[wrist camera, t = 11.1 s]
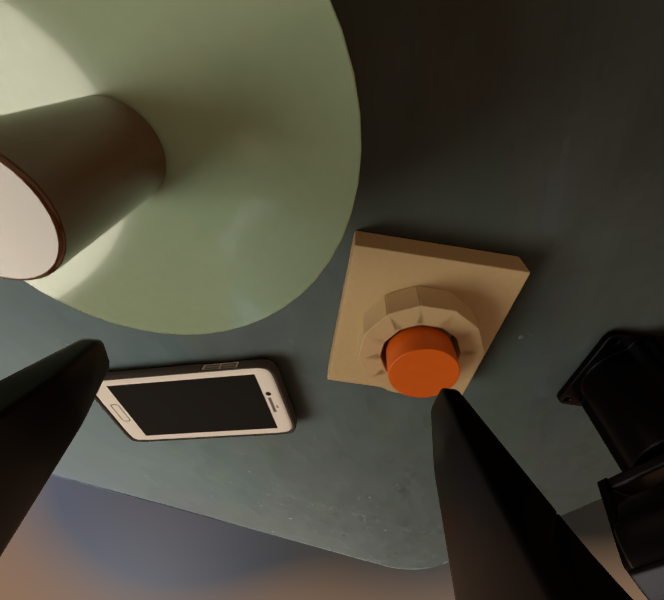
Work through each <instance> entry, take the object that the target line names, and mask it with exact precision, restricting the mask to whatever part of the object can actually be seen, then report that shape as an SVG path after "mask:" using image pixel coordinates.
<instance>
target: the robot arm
mask: <svg viewBox="0 0 664 600" xmlns="http://www.w3.org/2000/svg"><path fill="white" fill-rule="evenodd" d="M108 369H109V359H108V356H107V353H106V350H105V347H104V344H103V342H102V341H101V340H97V339H90V338H83V339H81V340H79V341H77V342H75V343H73V344H71V345H69V346H67V347H65V348H63V349H61V350H59V351H57V352H55V353H53V354H51V355H49V356H47V357H45V358H44V359H42V360H40V361H38V362H36V363H34V364H32V365H30V366H28V367H26V368H24V369H22V370H20V371H18V372H16V373H14V374H12V375H10V376H8V377H6V378H5V379H3V380H1V381H0V556H1V555H2V553H3V551H4V549H5V548H6V547H7V545H8V543H9V542H10V540H11V539H12V537H13V535H14V533H15V532H16V530H17V529H18V527H19V526H20V524H21V522H22V521H23V519H24V517H25V516H26V514H27V513H28V511H29V509H30V508H31V506H32V504H33V503H34V501H35V500H36V498H37V496H38V495H39V493H40V491H41V490H42V488H43V486H44V485H45V484H46V482H47V480H48V479H49V477H50V475H51V474H52V472H53V471H54V469H55V467H56V466H57V464H58V462H59V461H60V459H61V458H62V456H63V454H64V453H65V451H66V450H67V448H68V446H69V445H70V443H71V441H72V440H73V438H74V437H75V435H76V433H77V432H78V430H79V428H80V427H81V425H82V423H83V421H84V419H85V417H86V416H87V414H88V411H89V409H90V407H91V405H92V403H93V401H94V399H95V397H96V395H97V393H98V391H99V389H100V386H101V384H102V382H103V380H104V378H105V376H106V374H107V372H108ZM557 398H558V400H559V401H560V402H561V403H563V404H569V405H576V406H582V407H583V408H584V410H585V412H586V413H587V415H588V417H589V418H590V420H591V421H592V423H593V425H594V426H595V428H596V430H597V431H598V433H599V435H600V436H601V438H602V440H603V441H604V443H605V444H606V446H607V448H608V449H609V451H610V453H611V454H612V456H613V458H614V459H615V461H616V463H617V464H618V466H619V468H620V469H621V471H622V472H621V473H619V474H617V475H615V476H613V477H611V478H609V479H607V478H605V479H603V480H601V481H599V482H597V483H598V487H599V490H600V493H601V497H602V500H603V503H604V506H605V510H606V513H607V516H608V520H609V522H610V526H611V530H612V533H613V536H614V539H615V543H616V546H617V549H618V552H619V555H620V558H621V561H622V564H623V566H624V568H625V570H626V571H627V572H628V573H629V575H630V576H631V578H632V579H633V581H634V582H635V583H636V585H637V586H638V587H639V589H640V590H641V592H642V593H643V594H644V595H645V596H646V597H647V599H648V600H664V337H658V336H645V335H639V334H632V333H626V332H619V331H611V332H609V333H607V334H605V335H604V336H603V337H602V339H601V340H600V341H599V342H598V344H597V345H596V346H595V347H594V349H593V350H592V351H591V352H590V354H589V355H588V356H587V357H586V359H585V360H584V361H583V362H582V364H581V365H580V366H579V367H578V369H577V370H576V371H575V373H574V374H573V375H572V376H571V378H570V379H569V380H568V381H567V383H566V384H565V385H564V386H563V388H562V389H561V390H560V391H559V393H558V394H557ZM431 420H432V439H433V458H434V471H435V478H436V484H437V490H438V496H439V503H440V509H441V515H442V521H443V527H444V533H445V539H446V545H447V551H448V557H449V563H450V569H451V575H452V581H453V587H454V593H455V599H456V600H633V599H632V598H631V597H630V596H629V595H628V594H627V593H626V592H625V591H624V589H623V588H622V587H621V586H620V585H619V584H618V583H617V582H616V581H615V580H614V578H612V576H611V575H610V574H609V573H608V572H607V571H606V570H605V568H604V567H603V566H602V565H601V564H600V563H599V562H598V561H597V559H596V558H595V557H594V556H593V555H592V554H591V553H590V551H589V550H588V549H587V548H586V547H585V545H584V544H583V543H582V542H581V541H580V540H579V538H578V537H577V536H576V535H575V534H574V532H573V531H572V530H571V529H570V528H569V526H568V525H567V524H566V523H565V521H564V520H563V519H562V518H561V516H560V515H558V514H556V510H555V509H554V508H553V507H552V505H551V504H550V503H549V502H548V500H547V499H546V498H545V497H544V496H543V494H542V493H541V492H540V491H539V489H538V488H537V487H536V486H535V484H534V483H533V482H532V481H531V479H530V478H529V477H528V476H527V475H526V473H525V472H524V471H523V470H522V468H521V467H520V466H519V465H518V463H517V462H516V461H515V460H514V458H513V457H512V456H511V455H510V454H509V452H508V451H507V450H506V449H505V447H504V446H503V445H502V444H501V442H500V441H499V440H498V439H497V437H496V436H495V435H494V434H493V433H492V431H491V430H490V429H489V428H488V426H487V425H486V424H485V423H484V421H483V420H482V419H481V418H480V416H479V415H478V414H477V413H476V412H475V410H474V409H473V408H472V407H471V405H470V404H469V403H468V402H467V400H466V399H465V398H464V397H463V395H462V394H461V393H460V392H459V391H458V390H456V389H451V388H442V389H441V390H440V391H439V393H438V396H437V398H436V400H435V402H434V404H433V406H432V411H431Z"/></svg>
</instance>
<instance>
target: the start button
mask: <svg viewBox="0 0 664 600" xmlns="http://www.w3.org/2000/svg"><path fill="white" fill-rule="evenodd" d="M386 360H387V371H388V379H389V382H390V384H391V385H392V386H393V388H395V389H396V390H397V391H398V392H400V393H402V394H404V395H407V396H412V397H431V396H435V395H438V393H439V391H440V390H441V389H442V388H451V387H452V386H453V385H454V384H455V383H456V382H457V380H458V378H459V375H460V366H459V363H458V359H457V356H456V353H455V350H454V346H453V343H452V341H451V339H450V338H449V336H448V335H447V334H445V333H444V332H443V331H441V330H439V329H437V328H434V327H429V326H416V327H411V328H407V329H405V330H402V331H401V332H399V333H397V334H396V335H395V336H394V337H393V338H392V339H391V340H390V341H389V343H388V345H387V348H386Z"/></svg>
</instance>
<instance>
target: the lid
mask: <svg viewBox="0 0 664 600" xmlns="http://www.w3.org/2000/svg"><path fill="white" fill-rule="evenodd" d="M361 152H362V146H361V116H360V106H359V99H358V93H357V86H356V80H355V73H354V69H353V65H352V62H351V58H350V54H349V51H348V47H347V44H346V40H345V36H344V33H343V29H342V27H341V24H340V22H339V19H338V17H337V14H336V12H335V9H334V7H333V4H332V2H331V0H0V278H4V279H10V280H19V281H25V282H27V283H28V284H30V285H31V286H33V287H34V288H36V289H38V290H39V291H41V292H43V293H45V294H47V295H49V296H50V297H52V298H54V299H56V300H58V301H60V302H62V303H64V304H66V305H68V306H70V307H73V308H75V309H77V310H79V311H82V312H84V313H86V314H89V315H91V316H94V317H97V318H100V319H103V320H106V321H108V322H111V323H115V324H119V325H122V326H126V327H130V328H134V329H139V330H145V331H151V332H156V333H167V334H180V335H186V334H208V333H215V332H222V331H227V330H231V329H235V328H239V327H243V326H246V325H249V324H251V323H254V322H257V321H259V320H262V319H264V318H266V317H268V316H270V315H271V314H273V313H275V312H277V311H279V310H281V309H282V308H284V307H285V306H286V305H288V304H289V303H290V302H292V301H293V300H295V299H296V298H297V297H299V296H300V295H301V294H302V293H303V292H304V291H305V290H306V289H307V288H308V287H309V286H310V285H311V284H312V283H313V282H314V281H315V280H316V279H317V278H318V276H319V275H320V274H321V272H322V271H323V270H324V268H325V267H326V266H327V264H328V263H329V262H330V260H331V258H332V257H333V255H334V253H335V251H336V249H337V247H338V246H339V244H340V242H341V240H342V238H343V236H344V233H345V230H346V227H347V225H348V222H349V219H350V217H351V214H352V211H353V206H354V202H355V197H356V193H357V188H358V184H359V174H360V163H361Z"/></svg>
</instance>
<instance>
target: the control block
mask: <svg viewBox="0 0 664 600" xmlns="http://www.w3.org/2000/svg"><path fill="white" fill-rule="evenodd" d="M529 274H530V271H529V270H528V269H527V267H526V266H525V265H524V263H523V262H522V260H521V259H520V258H519V257H518V256H512V255H506V254H500V253H493V252H487V251H481V250H474V249H468V248H462V247H456V246H449V245H443V244H437V243H430V242H424V241H418V240H411V239H405V238H399V237H393V236H386V235H380V234H374V233H367V232H361V231H355V232H354V237H353V242H352V247H351V252H350V257H349V262H348V267H347V272H346V277H345V282H344V287H343V293H342V298H341V303H340V308H339V313H338V318H337V323H336V328H335V333H334V338H333V343H332V348H331V353H330V358H329V366H328V377H327V378H328V379H329V380H336V381H343V382H350V383H357V384H364V385H371V386H378V387H383V388H385V389H387V390H388V391H391V392H398V391H397V390H396V389H395V388H393V386H392V385H391V384H390V382H389V379H388V371H387V360H386V348H387V345H388V343H389V341H390V340H391V339H392V338H393V337H394V336H395V335H396V334H397V333H399V332H401V331H402V330H405V329H407V328H411V327H416V326H429V327H434V328H437V329H439V330H441V331H443V332H444V333H445V334H447V335H448V336H449V338H450V339H451V341H452V343H453V346H454V350H455V353H456V356H457V359H458V363H459V366H460V375H459V378H458V380H457V382H456V383H455V384H454V385H453V386H452V387H451V389H456V390H458V391H459V392H460V393H461V394H462V395H463V393H464V391H465V389H466V388H467V386H468V384H469V382H470V380H471V379H472V377H473V375H474V373H475V371H476V370H477V368H478V366H479V364H480V362H481V361H482V359H483V357H484V355H485V353H486V352H487V350H488V348H489V346H490V344H491V343H492V341H493V339H494V337H495V335H496V334H497V332H498V330H499V328H500V327H501V325H502V323H503V321H504V319H505V318H506V316H507V314H508V312H509V310H510V309H511V307H512V305H513V303H514V301H515V300H516V298H517V296H518V294H519V292H520V291H521V289H522V287H523V285H524V283H525V282H526V280H527V278H528V276H529ZM398 393H400V392H398Z"/></svg>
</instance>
